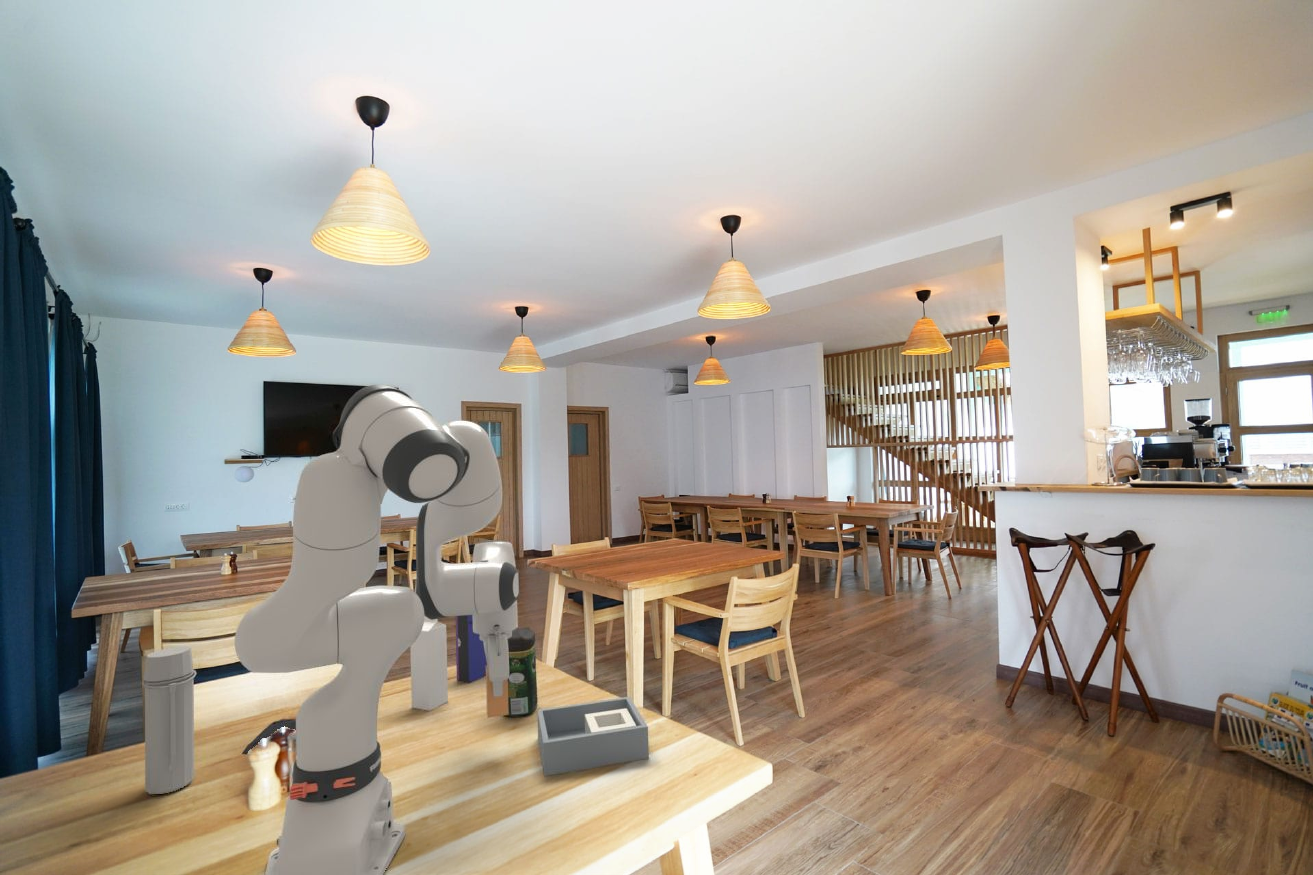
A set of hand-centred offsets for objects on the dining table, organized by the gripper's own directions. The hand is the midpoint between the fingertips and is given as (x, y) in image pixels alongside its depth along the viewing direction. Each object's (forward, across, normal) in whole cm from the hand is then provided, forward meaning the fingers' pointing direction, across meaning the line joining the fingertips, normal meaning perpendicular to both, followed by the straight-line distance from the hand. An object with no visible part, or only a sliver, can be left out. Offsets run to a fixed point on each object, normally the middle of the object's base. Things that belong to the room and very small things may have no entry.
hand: (497, 690), depth 121 cm
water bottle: (+12, +11, +58) cm, 61 cm away
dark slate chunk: (+12, +25, +38) cm, 47 cm away
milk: (+12, +34, +14) cm, 39 cm away
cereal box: (+11, +53, 0) cm, 54 cm away
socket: (+12, -4, -22) cm, 25 cm away
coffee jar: (+12, +22, -6) cm, 26 cm away
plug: (+4, 0, 0) cm, 4 cm away
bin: (+13, -4, -18) cm, 22 cm away
